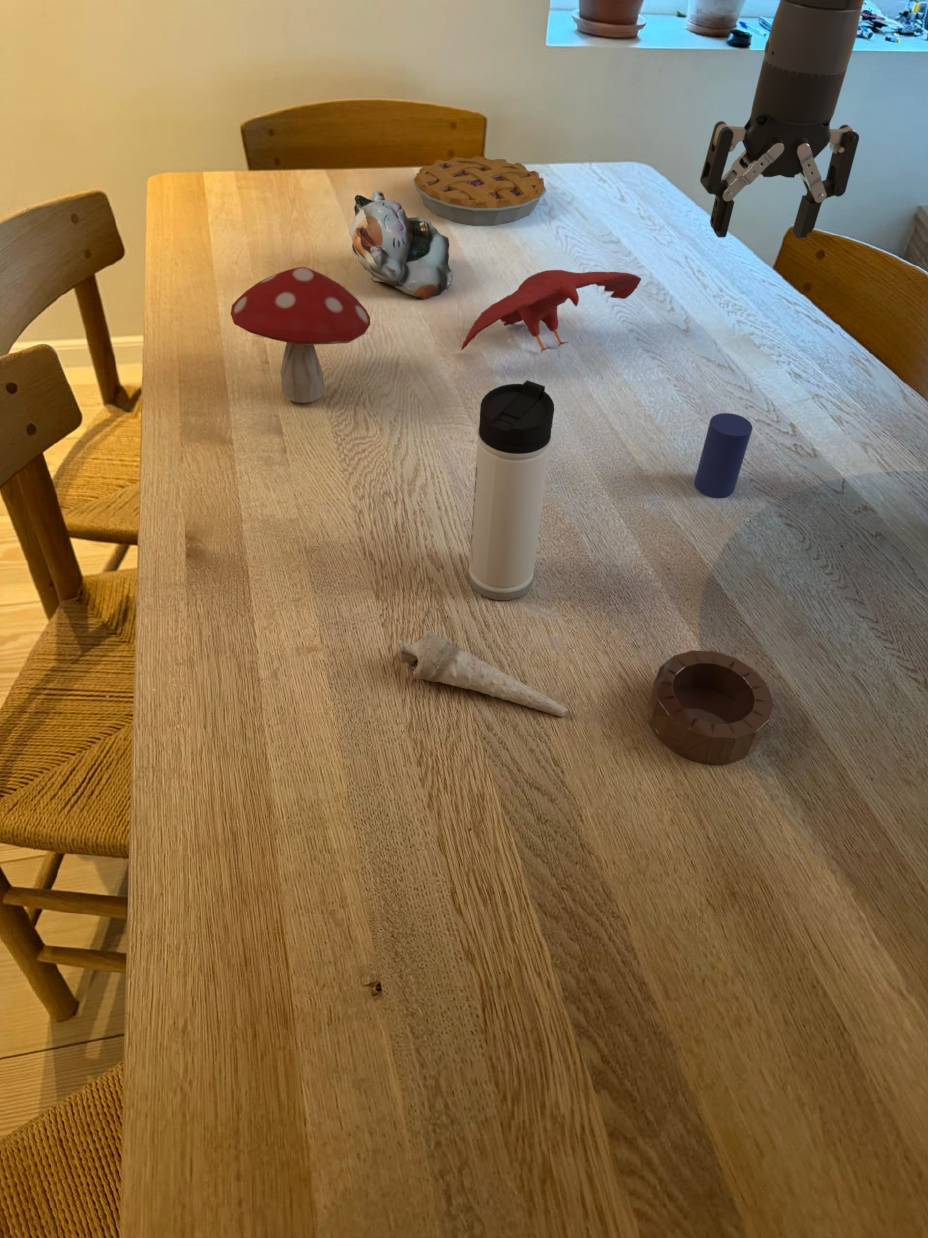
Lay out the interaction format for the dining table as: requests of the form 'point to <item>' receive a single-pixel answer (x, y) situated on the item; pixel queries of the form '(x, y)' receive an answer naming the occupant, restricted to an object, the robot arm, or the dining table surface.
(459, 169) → the pie
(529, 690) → the seashell
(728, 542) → the dining table surface
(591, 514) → the dining table surface
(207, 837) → the dining table surface
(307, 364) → the decorative mushroom
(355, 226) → the lucky cat figurine
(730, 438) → the blue cylinder
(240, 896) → the dining table surface
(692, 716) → the holder
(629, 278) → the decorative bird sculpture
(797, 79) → the robot arm
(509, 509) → the travel mug
